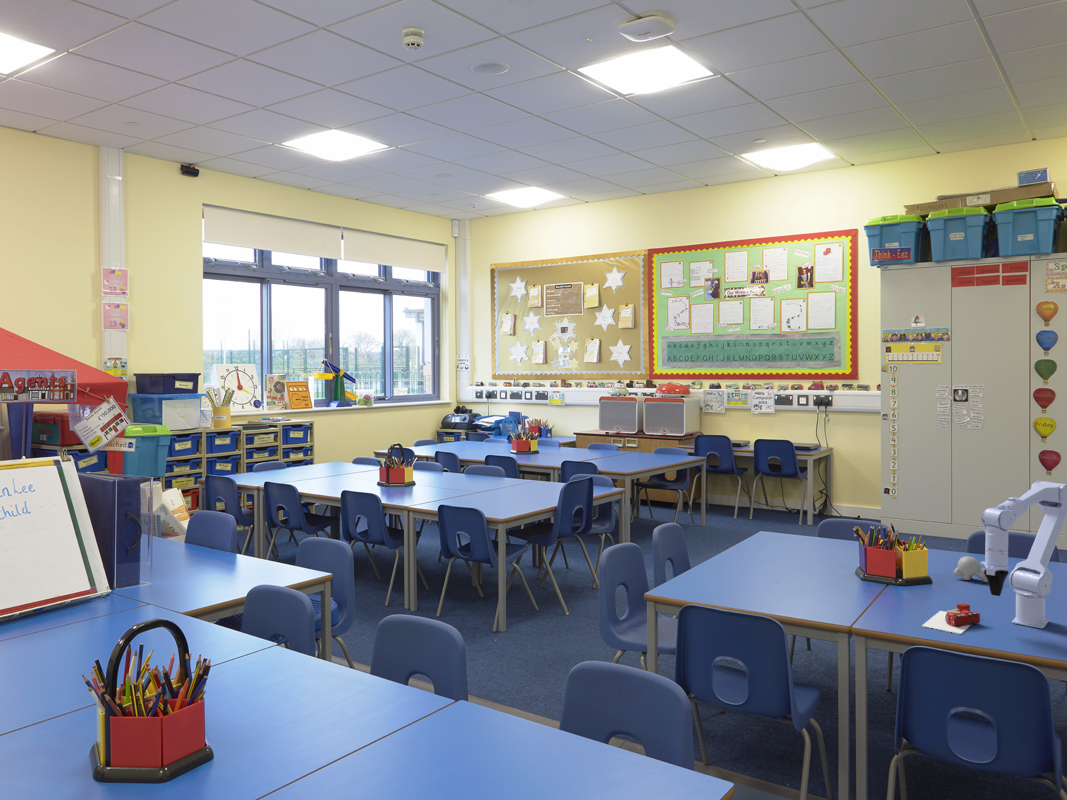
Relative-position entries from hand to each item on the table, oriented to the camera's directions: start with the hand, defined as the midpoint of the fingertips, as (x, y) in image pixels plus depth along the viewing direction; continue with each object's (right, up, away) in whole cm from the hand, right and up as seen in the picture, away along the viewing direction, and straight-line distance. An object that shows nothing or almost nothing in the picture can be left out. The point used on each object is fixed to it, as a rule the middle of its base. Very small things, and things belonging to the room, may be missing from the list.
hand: (995, 595), depth 221 cm
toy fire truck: (-4, -8, +4) cm, 10 cm away
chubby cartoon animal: (+24, -9, +52) cm, 58 cm away
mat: (-9, -10, +7) cm, 16 cm away
